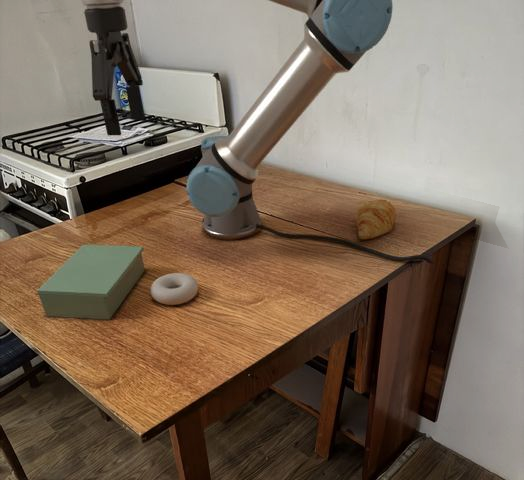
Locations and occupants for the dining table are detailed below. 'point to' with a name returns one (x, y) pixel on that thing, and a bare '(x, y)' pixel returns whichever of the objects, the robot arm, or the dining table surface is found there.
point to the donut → (174, 288)
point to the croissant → (375, 219)
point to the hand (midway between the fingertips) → (126, 126)
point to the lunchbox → (93, 299)
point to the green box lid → (92, 271)
